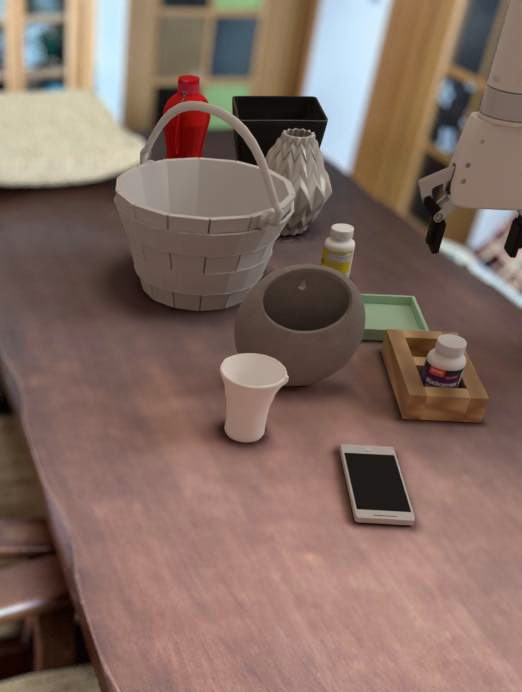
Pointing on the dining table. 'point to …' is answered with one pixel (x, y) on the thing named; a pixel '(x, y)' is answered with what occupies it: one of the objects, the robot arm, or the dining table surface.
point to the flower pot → (275, 120)
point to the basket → (202, 220)
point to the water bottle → (186, 122)
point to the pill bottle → (445, 362)
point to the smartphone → (376, 485)
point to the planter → (302, 321)
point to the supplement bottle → (339, 248)
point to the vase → (301, 176)
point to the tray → (391, 315)
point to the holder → (429, 402)
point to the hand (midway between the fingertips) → (470, 251)
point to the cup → (250, 393)
